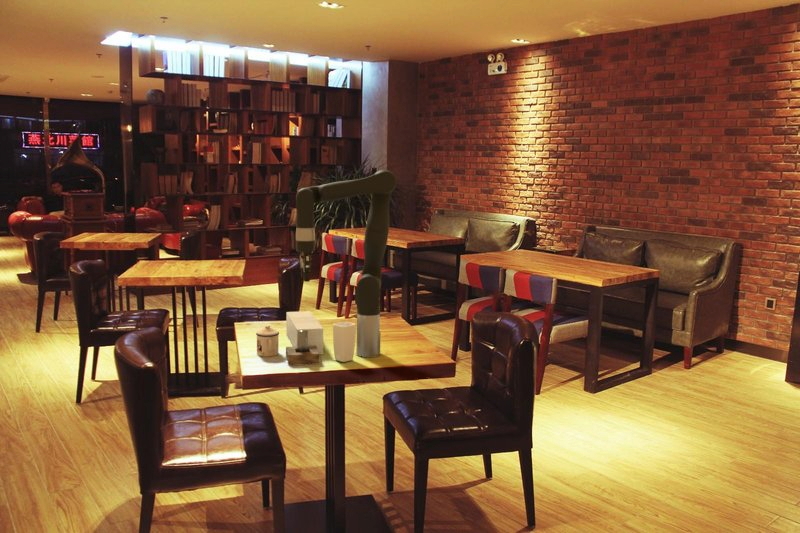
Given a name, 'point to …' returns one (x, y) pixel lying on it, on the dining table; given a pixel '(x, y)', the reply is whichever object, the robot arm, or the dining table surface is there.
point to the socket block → (302, 356)
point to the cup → (344, 341)
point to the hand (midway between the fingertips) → (305, 279)
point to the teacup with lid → (267, 341)
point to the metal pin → (302, 340)
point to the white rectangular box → (304, 322)
